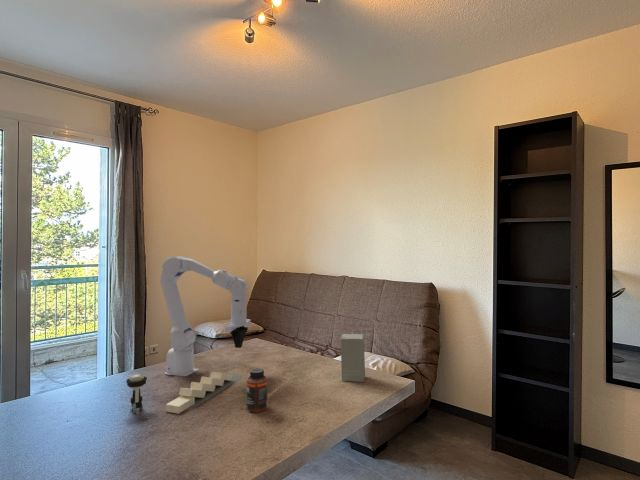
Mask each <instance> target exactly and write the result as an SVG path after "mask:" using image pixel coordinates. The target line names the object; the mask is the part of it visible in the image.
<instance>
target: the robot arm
mask: <svg viewBox="0 0 640 480" xmlns="http://www.w3.org/2000/svg"><path fill="white" fill-rule="evenodd" d="M161 268H162V269H161V275H160V279H159V282H160V286H161V289H162V293H163V297H164V300H165V305H166V307H167V312H168V315H169V318H170V322H171V326H172V328H171V330H170V337H171V339H170V346H171V348H170V349H169V350H168V351H167V353H166V358H165V359H166V360H165V361H166V363H165V368H166V369H165V370H166V371H165V372H164V374H165V375H168V376H175V377H176V376H179V377H187V376H189V375H191V374H193V373H196V372H197V371H199V370H200V369H199V368H195V367H194V366H195V364H194V363H195V362H194V361H195V360H194V359H195V346H194V343H195V342H196V340H197V333H196V332H195V330H194V329H193V327H192V324H190V322H189V321H188V320H187V316H186V313H185V308H184V306H183V302H182V299H181V294H180V291H179V287H178V283H177V282H178V280H179V279H180V277H181V276H182V275H183V274H184V273H186V272H194V273H196V274H199V275H202V276H203V277H207V278H209V279H211V282H212V283H213V285H216V286H218V287H220V288H223V290H224V289H225V290H227V291H229V293H230V294H231V296H230V298H231V300H230V323H229V324H228V325H226V326H225V332H226V333H230V335H231V337H232V340H233V344H234V348H237V349H238V348H239V349H241V348H243V343H244V339H245V336H246V334H247V332H248V329H249V327H248V326H250V325H251V322H252V319H249V318H247V312H248V311H247V307H248V306H247V303H248V299H247V291H248V290H249V283H248V282H247V280H246V279H244V278H243V277H239V276H238V275H232V274H231V273H228V272H227V270H226V269H218V270H214V269H212V268H210V267H209V266H207V265H205V264H203V263H201V262H199V261H197V260H195V259H193V258H190V257H187V256H185V255H180V256H169V257H167V258H166V259H165V260H164V262H163V263H162V264H161Z"/></svg>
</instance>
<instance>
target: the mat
mask: <svg viewBox="0 0 640 480" xmlns="http://www.w3.org/2000/svg"><path fill="white" fill-rule="evenodd" d="M225 374H230V375H232V380H231V381H228V380H224V383H223V386H219V385H215V389H214V392H213V391H206V393H205V397H204V398H201V397H195V404H193V405H192V406H190V407H189V408H187V409H186V410H187V411H192V410H194V409H196V408H197V407H198V406H200V405H201V404H203V403H206V401H208V400H209V399H211V398H213V397H214V396H215V395H217V394H219V393H220V392H222V391H223V390H225V389H227V388H228V387H230V386H231V385H233V384H235V383H236V382H237V381H239V380H241V379H243V378H244V377H245V375H242V374H237V373H235V374H234V373H230V372H229V373H227V372H225Z"/></svg>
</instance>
